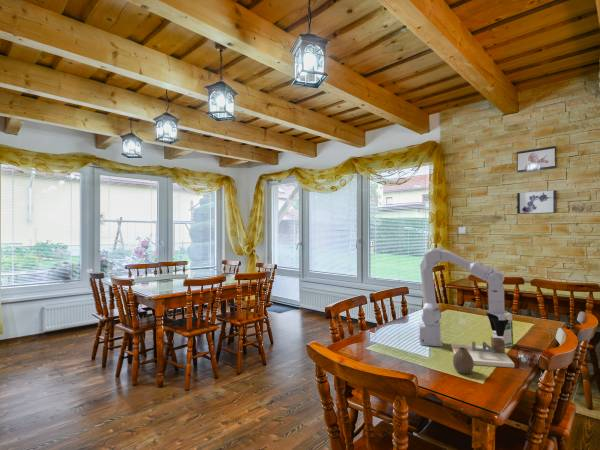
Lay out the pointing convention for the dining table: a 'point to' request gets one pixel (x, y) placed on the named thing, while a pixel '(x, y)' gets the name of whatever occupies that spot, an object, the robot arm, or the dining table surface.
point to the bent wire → (483, 348)
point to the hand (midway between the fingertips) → (497, 333)
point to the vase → (463, 361)
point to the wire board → (486, 356)
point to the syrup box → (507, 331)
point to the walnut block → (498, 345)
